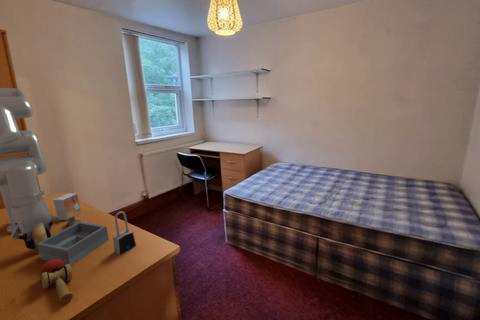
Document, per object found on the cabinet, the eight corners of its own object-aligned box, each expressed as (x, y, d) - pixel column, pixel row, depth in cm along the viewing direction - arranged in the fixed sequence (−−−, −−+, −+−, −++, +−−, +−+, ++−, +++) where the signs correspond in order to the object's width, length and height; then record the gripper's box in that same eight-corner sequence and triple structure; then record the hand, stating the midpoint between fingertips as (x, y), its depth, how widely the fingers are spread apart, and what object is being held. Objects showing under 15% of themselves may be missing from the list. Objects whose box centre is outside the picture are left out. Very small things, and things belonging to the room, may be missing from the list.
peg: (29, 252, 88) (21, 225, 85) (43, 244, 92) (36, 219, 90) (38, 254, 86) (31, 227, 83) (52, 246, 91) (46, 220, 88)
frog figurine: (55, 229, 105) (53, 221, 104) (86, 218, 113) (84, 211, 112) (61, 238, 97) (59, 230, 96) (93, 227, 105) (92, 219, 104)
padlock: (119, 255, 85) (113, 217, 81) (113, 251, 87) (107, 214, 83) (137, 245, 90) (131, 209, 86) (130, 242, 92) (125, 207, 89)
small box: (67, 221, 111) (62, 200, 108) (57, 220, 112) (52, 199, 109) (81, 213, 118) (77, 193, 115) (72, 212, 119) (68, 192, 117)
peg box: (41, 258, 84) (37, 244, 82) (82, 234, 99) (79, 221, 97) (70, 266, 80) (66, 250, 78) (108, 239, 94) (106, 226, 93)
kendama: (87, 295, 69) (68, 262, 80) (79, 281, 66) (61, 248, 77) (56, 317, 64) (41, 278, 75) (46, 302, 61) (32, 264, 72)
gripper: (45, 189, 93) (55, 231, 98) (-10, 208, 77) (5, 256, 82) (59, 191, 91) (69, 233, 95) (5, 211, 75) (20, 260, 80)
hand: (39, 243), depth 89 cm, fingers closed on peg, 5 cm apart
